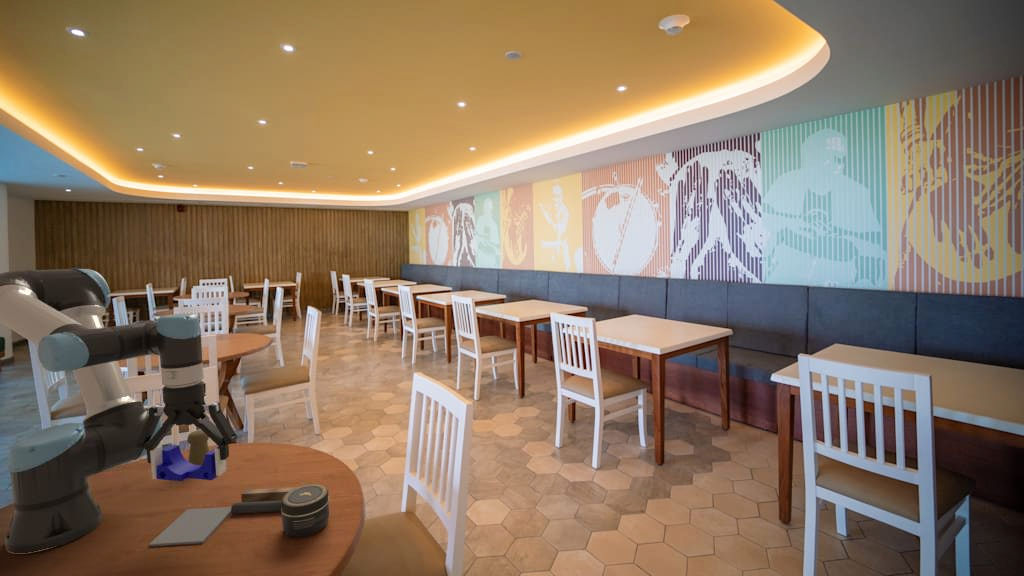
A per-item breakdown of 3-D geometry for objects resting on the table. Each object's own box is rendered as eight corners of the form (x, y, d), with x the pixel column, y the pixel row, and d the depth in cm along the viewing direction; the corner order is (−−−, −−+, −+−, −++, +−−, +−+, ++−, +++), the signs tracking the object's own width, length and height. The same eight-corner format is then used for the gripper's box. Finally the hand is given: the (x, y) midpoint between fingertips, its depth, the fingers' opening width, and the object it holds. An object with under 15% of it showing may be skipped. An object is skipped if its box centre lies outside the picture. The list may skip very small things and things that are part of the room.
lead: (236, 510, 109) (231, 516, 106) (235, 500, 108) (230, 506, 106) (295, 506, 110) (291, 512, 108) (294, 497, 110) (290, 503, 107)
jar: (285, 518, 105) (283, 487, 104) (330, 509, 108) (329, 479, 108) (279, 544, 95) (277, 511, 95) (329, 533, 99) (327, 501, 98)
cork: (216, 465, 131) (214, 430, 130) (193, 474, 126) (190, 437, 125) (206, 460, 134) (204, 425, 133) (183, 469, 129) (181, 432, 128)
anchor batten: (241, 503, 111) (241, 493, 111) (245, 499, 113) (245, 489, 113) (299, 500, 112) (298, 490, 112) (302, 496, 114) (301, 486, 114)
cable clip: (157, 479, 99) (156, 453, 98) (174, 469, 103) (173, 444, 103) (206, 483, 98) (206, 457, 97) (221, 473, 102) (221, 448, 102)
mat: (149, 546, 95) (148, 544, 95) (187, 511, 108) (187, 509, 108) (202, 543, 96) (202, 541, 96) (235, 508, 109) (234, 506, 109)
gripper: (110, 390, 94) (118, 486, 96) (232, 386, 96) (238, 479, 98) (136, 380, 101) (144, 469, 103) (250, 376, 104) (255, 463, 105)
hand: (190, 474), depth 100 cm, fingers closed on cable clip, 13 cm apart
